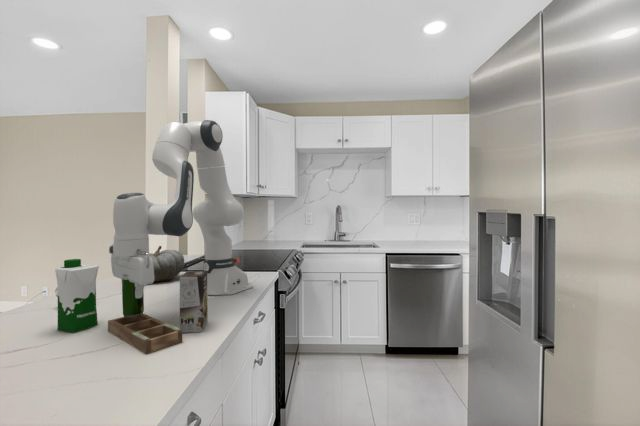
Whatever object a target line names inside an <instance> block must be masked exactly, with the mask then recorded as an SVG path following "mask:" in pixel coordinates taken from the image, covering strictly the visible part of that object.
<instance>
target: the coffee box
mask: <svg viewBox="0 0 640 426" xmlns="http://www.w3.org/2000/svg"><path fill="white" fill-rule="evenodd" d="M208 308H209V307H208V295H207V271H204V270H194V271H185V273H182V274H181V276H179V329H180V330H182V334H186V333H202V332H203V330H204V329H205V327H206V325H207V324H208V315H209V314H208Z"/></svg>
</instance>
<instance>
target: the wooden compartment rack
mask: <svg viewBox="0 0 640 426" xmlns="http://www.w3.org/2000/svg"><path fill="white" fill-rule="evenodd" d="M107 331H108V332H109V333H111V334H112V335H114V336H115V337H117V338H119V339H120V340H122V341H124V342H125V343H127V344H129V345H131V346H132V347H133V348H135V349H137V350H138V351H140V352H142V353H144V354H145V355H148V354H151V353H154V352H157V351H159V350H163V349H167V348H169V347H172V346H174V345H178V344H180V343H183V333H182V330H180V327H177V326H175V325H172V324H170V323H166V322H164V321H161V320H159V319H157V318H154V317H152V316H150V315H148V314H146V313H143V314H142V315H140V316H137V317H132V318H126V317H124V316H121V317H118V318H114V319H108V320H107Z"/></svg>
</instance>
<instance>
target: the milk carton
mask: <svg viewBox="0 0 640 426" xmlns="http://www.w3.org/2000/svg"><path fill="white" fill-rule="evenodd" d="M99 267H100V266H99V265H98V266H97V265H93V264H82V259H80V258H73V259H72V258H71V259H66V260H63V266H61V267H58V268H55V269H54V271H55V277H56V282H57V283H56V284H57V286H56V287H58V297H57V330H58V331H63V332H66V333H67V332H68V333H73V334H75V333H77V332H79V331H80V332H81V331H84V330H86V329H89V328H92V327H95V326H98V325H99V322H98V313H97V277H98V272H99Z"/></svg>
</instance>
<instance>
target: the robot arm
mask: <svg viewBox="0 0 640 426" xmlns="http://www.w3.org/2000/svg"><path fill="white" fill-rule="evenodd" d="M222 142H223V130H222V128H221V127H220V125H219V124H218V122H216V121H214V120H209V119H205V120H195V121H189V122H185V123H182V122H179V121H170V122H167V123H166V124H165V126H164V127H163V129H162V130H161V131H160V134H159V135H158V137H157V140H156V143H155V145H154V149H153V151H152V155H151V156H152V163H153V165H154V166H155V168H156V169H157V170H158V171H159V172H161V173H162V174H164V175H165V176H168V177H170V178H173V179H175V180H176V184H175V194H174V200H173V201H172V202H170V203H168V204H159V203H158V204H155V203H153V202H151V201H149V200H148V199H147V197H146V195H145V193H142V192H130V193H128V192H127V193H122V194H120V195H117V196H116V197H115V200H114V203H113V209H112V211H113V213H112V214H113V215H112V217H113V218H112V221H113V223H112V224H113V227H114V230H115V231H114V236H113V243H112V245H110V246H109V247H108V252H109V254H110V263H111V265H110V267H111V273H112V275H113V277H114V278H116V279H117V278H118V279H120V280H122V278H123V275H124V276H125V275H127V276H128V279H129V281H130V282H132V283H135V287H136V288H135V292H134V297H135V298H137V299H138V298H142V296H143V292H144V289H145V286H146V285H150V284H154V266H153V260H152V258H151V257H150V256H149V255H148V253H150V241H149V240H150V238H149V237H150V236H149V235H153V236H174V237H182V236H184V235H185V234H186V233H188V232H189V231H190V230H191V228H192V226H193V224H194V220H195V222H197V224H198V226H199V228H200V231H201V233H202V237H203V243H204V258H203V271H207V296H208V295H209V296H221V295H223V296H224V295H225V296H226V295H228V296H229V295H235V294H237V293H241V292H243V291H244V292H245V291H246V290H250V289H252V288H254V284H253V283H251V282H249V280H248V275H247V273H246V272H245V271H243V269H240V268H239V267H238V266H237V265H236V263H237V264H239V263H240V262H241V261H240V260H241V259H240V258H238V257H235V258H234V257H232V255H233V254H232V250H233V249H232V245H233V244H232V239H231V237H230V236H229V235H228V234H227V233H226V230H225V227H231V226H236V225H239V224H240V223H242V221H243V219H244V217H245V210H244V207H243V205H242V203H240V202H239V201H238V200H237V199H236V198H235V196H234V195H233V193H232V191H231V189H230V186H229V181H228V179H227V173H226V171H227V170H226V166H225V165H226V164H225V161H224V156H223V152H222V149H221V147H220V146H221V145H222ZM191 152H192V153H193V152H195V156H196V157H195V159H196V160H195V161H196V169H197V175H198V182H199V186H200V189H201V190H202V191H203V192H205V194H206V195H207V197H208V200H204V201H201V202H199V203H197V204H195V206H194V207H193V197H194V184H195V177H194V175H195V173H194V172H195V171H194V168H193V165H192V164H191V163H190V161H189V156H190V153H191Z"/></svg>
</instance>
